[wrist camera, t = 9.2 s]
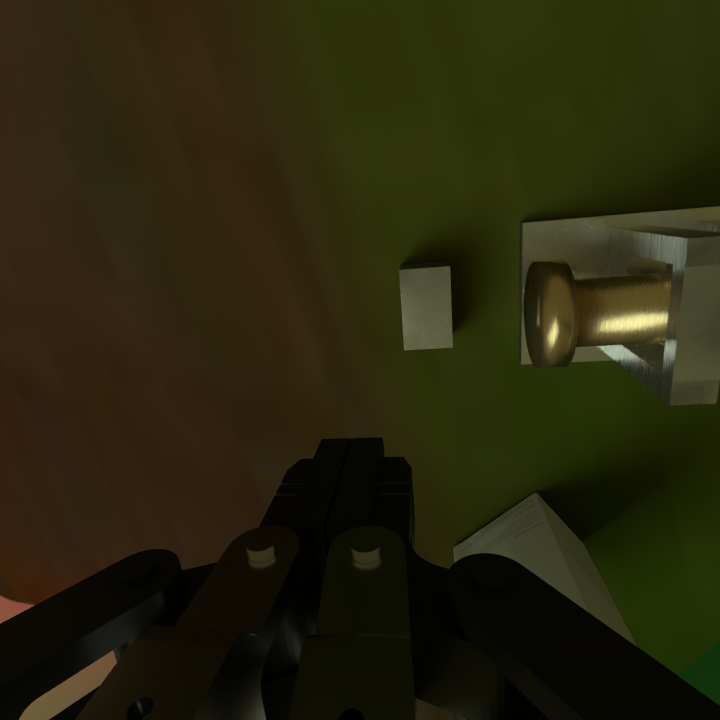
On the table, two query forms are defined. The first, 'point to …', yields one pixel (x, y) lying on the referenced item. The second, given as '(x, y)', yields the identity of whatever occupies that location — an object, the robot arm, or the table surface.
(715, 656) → the hardback book
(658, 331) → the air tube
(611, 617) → the skincare box
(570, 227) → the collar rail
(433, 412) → the table surface
